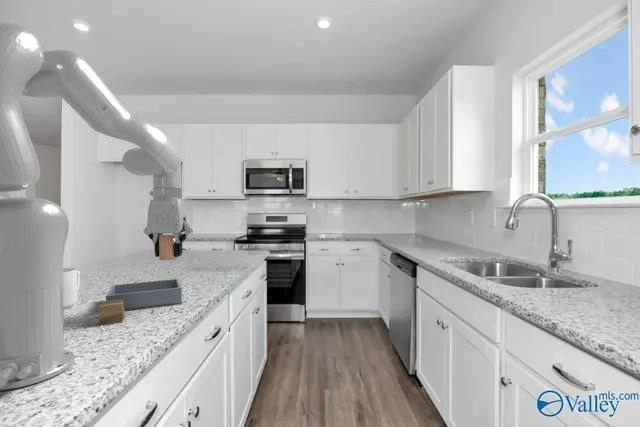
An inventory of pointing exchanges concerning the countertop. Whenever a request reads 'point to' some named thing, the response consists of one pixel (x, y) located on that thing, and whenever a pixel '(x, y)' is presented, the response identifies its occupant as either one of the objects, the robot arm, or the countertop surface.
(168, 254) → the terracotta cylinder
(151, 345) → the countertop surface
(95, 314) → the countertop surface
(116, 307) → the walnut cube
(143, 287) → the tote
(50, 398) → the countertop surface
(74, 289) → the mug
